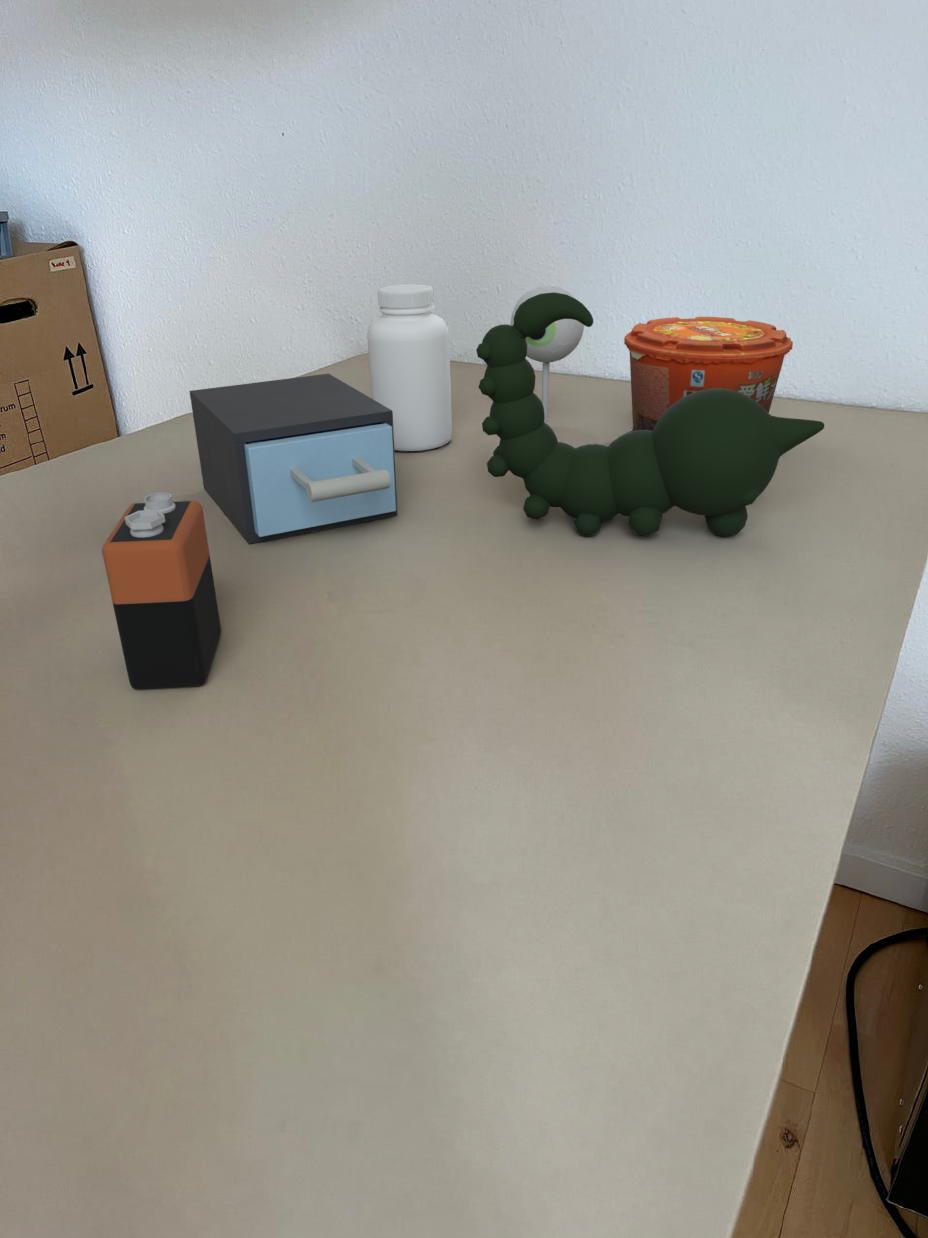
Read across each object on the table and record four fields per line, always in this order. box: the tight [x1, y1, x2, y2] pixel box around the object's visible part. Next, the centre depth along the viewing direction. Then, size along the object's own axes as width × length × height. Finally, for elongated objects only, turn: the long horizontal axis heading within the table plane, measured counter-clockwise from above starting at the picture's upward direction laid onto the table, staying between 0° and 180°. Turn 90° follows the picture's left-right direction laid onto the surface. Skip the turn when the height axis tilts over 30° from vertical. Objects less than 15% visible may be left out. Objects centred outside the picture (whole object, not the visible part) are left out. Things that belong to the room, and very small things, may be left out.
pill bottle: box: [366, 283, 453, 452], centre depth 93 cm, size 8×8×15 cm
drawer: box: [244, 423, 396, 537], centre depth 75 cm, size 19×11×7 cm, turn 27°
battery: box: [101, 492, 222, 690], centre depth 54 cm, size 4×7×10 cm, turn 5°
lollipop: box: [510, 284, 585, 426], centre depth 93 cm, size 7×7×15 cm
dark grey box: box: [188, 373, 398, 545], centre depth 79 cm, size 15×13×9 cm
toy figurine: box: [475, 292, 825, 538], centre depth 71 cm, size 9×19×25 cm
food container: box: [623, 316, 794, 431], centre depth 94 cm, size 16×16×11 cm
